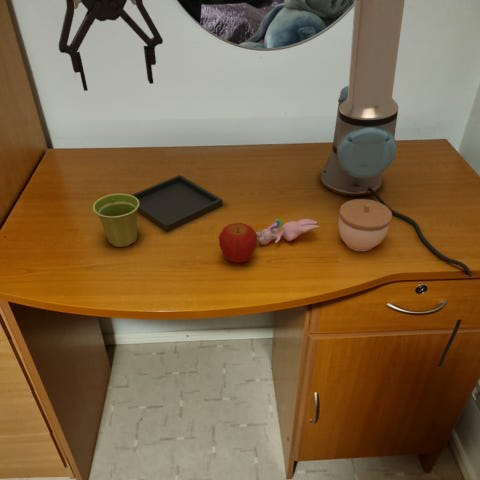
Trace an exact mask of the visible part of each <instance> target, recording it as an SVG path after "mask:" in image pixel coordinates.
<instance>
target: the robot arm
mask: <svg viewBox="0 0 480 480" xmlns="http://www.w3.org/2000/svg"><path fill="white" fill-rule="evenodd" d="M127 1H128V0H65V2H66V3H65V5H66V9H65V14H64V18H63V22H62V26H61V27H62V28H61V31H60V35H59V36H60V37H59V42H58V50H59V52H60V53H61V54H67V55H69V56H70V61H71V65H72V69H73V72H74V73H75V74H76V73H79V74H80V79H81V84H82V88H83V91H84V92H86V91H89V90H88V84H87V79H86V74H85V72H84V71H85V69H84V66H83V65H84V64H83V61H82V56H81V52H80V51H79V49H80V47H81V45H82V43H83V41H84V39H85V38H86V36H87V33H88V32H89V31H90V28H91V26H93V24H94V22H95V20H96V21H99V22H105V21H117V20H118V19H119V18H120V19H122V20H123V21H124V23H126V24H127V25H128V26H129V28H131V30H132V31H133V32H134V33H135V34H136V35H137V36H138V38H140V39H141V40H142V41H143V42H144V43H145V45H143V53H144V61H145V69H146V75H147V76H146V78H147V81H148V84H150V85H152V84H154V76H153V68H152V66H155V65H157V57H156V47H157V46H159V45H162V44H163V43H164V39H163V37H162V36H161V34H160V32H159V30H158V29H157V26H156V25H155V23H154V21H153V19H152V17H151V16H150V14H149V12H148V11H147V9H146V7H145V5H144V2H143V0H129V1H130V3H131V4H132V5H133V6H136V8H137V10H138V11H139V13H140V15H141V17H142V20H144V22H145V24H146V26H147V27H148V29H149V31H150V33H151V35H152V37H149V35H148V34H147V33H146V32H145V31H144V29H142V28H141V27H140V25H139V24H137V21H135V20H134V19H133V18H132V17H131V15H130V14H128V13H127V11H126V10H125V6H126V4H127ZM405 1H406V0H354V4H353V17H352V18H353V19H352V34H351V44H350V45H351V47H350V59H349V61H350V62H349V73H348V74H349V75H348V76H349V77H348V85H347V86H343V88H342V89H341V90H340V94H339V97H338V99H337V102H338V105H337V112H336V119H335V126H334V133H333V139H332V146H331V152H330V153H329V155H328V157H327V159H326V162H325V163H324V166H323V167H322V170H321V175H320V183H321V184H322V186H323V187H324V188H326V190H328V191H330V192H332V193H334V194H337V195H340V196H345V197H355V198H356V197H365V196H370V195H372V196H373V197H374V198H375V199H376V200H377V202H379V203H382V204H383V205H385V206H387V207H388V208H389V209H390V211H391V213H392V216H393V215H394V216H396V217H397V218H400V219H403V220H404V221H407V222H408V223H410V224H411V225H412V226H413V227H414V228H415V230H416V232H417V235H418V237H419V238H420V240H421V241H422V242H423V243H424V246H426V247H427V248H428V249H429V250H430V251H431V252H432V253H433V254H435V255H436V256H437V257H438V258H440V259H441V260H443V261H445V262H447V263H450V264H453V265H456V266H458V267H461V269H463V270H464V271H465V273H466V275H467V276H468V277H473V274H472V271H471V269H470V268H469V267H468V266H467V265H466V264H465V263H464V262H462V261H459V260H456V259H453V258H451V257H447V256H446V255H444V254H443V253H441V252H440V251H439V250H437V249H436V248H435V247H434V246H433V245H432V244H431V243H430V242H429V241H428V240H427V239H426V237H425V236H424V235H423V231H421V228H420V226H419V225H418V223H417V222H416V221H415V220H414V219H413V218H411V217H410V216H407V215H404V214H402V213H400V212H397V211H396V210H393V209H392V208H391V207H389V206H388V205H387V204H386V202H385V201H384V200H383V199H382V197H380V195H378V193H377V192H378V191H379V190H380V188H381V187H382V182H383V173H384V172H385V171H387V170H388V169H389V168H390V167H391V166H392V164H393V162H394V160H395V158H396V154H397V141H396V139H395V138H396V128H397V122H398V115H399V114H398V113H399V104H398V103H397V102H396V101H395V99H394V98H393V91H394V86H395V78H396V70H397V63H398V54H399V49H400V48H399V46H400V40H401V39H400V38H401V32H402V31H401V30H402V24H403V17H404V10H405V9H404V8H405ZM79 4H82V5H83V6H84V8H85V9H86V10H87V11H86V13H85V14H84V17H83V20H82V21H81V23H80V25H79V27H78V29H77V31H76V33H75V35H74V36H73V38H72V40H71V42H70V44H68V43H69V38H70V33H71V29H72V25H73V20H74V16H75V10H77V9H78V8H79ZM462 321H463V319H460V318H459V319H457V321H456V323H455V325H454V328H453V330H452V333H451V335H450V337H449V339H448V341H447V344H446V345H445V347H444V350H443V352H442V354H441V357H440V359H439V361H438V364H437V368H442V366H443V363H444V361H445V358H446V356H447V354H448V352H449V350H450V348H451V346H452V343H453V342H454V339H455V337H456V335H457V334H458V331H459V328H460V326H461V323H462Z"/></svg>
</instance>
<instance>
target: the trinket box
mask: <svg viewBox="0 0 480 480" xmlns="http://www.w3.org/2000/svg"><path fill="white" fill-rule="evenodd" d="M387 206H388V205H387ZM387 206H385V205H383V204H382V203H380V202H379V201H378V200H377V201H376V200H374V199H368V198H356V199H351V200H348V201H345V202H344V203H343V204H342V205H341V206H340V207H339V211H338V213H339V214H338V223H337V224H338V227H337V228H338V233H339V236H340V238H341V240H342V241H343V242H344V244H345V246H346V247H347V248H348V249H351V250H353V251H356V252H367V251H370V250H372V249H373V248H375V247H377V246H379V244H381V243H382V241H383V240H384V239H385V237H386V236H387V234H388V231H389V228H390V225H391V223H392V221H393V214H392V213H391V211H390V209H389V208H390V207H389V206H388V207H389V208H388V207H387Z"/></svg>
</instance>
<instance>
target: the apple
mask: <svg viewBox="0 0 480 480" xmlns="http://www.w3.org/2000/svg"><path fill="white" fill-rule="evenodd" d="M255 232H256V231H255V230H254V228H253V227H252V226H250V225H248V224H246V223H242V222H233V223H230V224H228V225H226V226H224V227H223V228H222V230H221V231H220V233H219V235H218V242H219V243H218V244H219V248H220V250H221V253H222V254H223V255H224V257H225V258H226V259H227V260H228V261H230V262H233V263H240V264H241V263H244V262H247V261H249V260H250V259H251V257H252V256H253V254H254V253H255V251H256V248H257V245H258V241H257V235H256V233H255Z"/></svg>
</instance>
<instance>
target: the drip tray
mask: <svg viewBox="0 0 480 480" xmlns="http://www.w3.org/2000/svg"><path fill="white" fill-rule="evenodd" d="M131 195H132V196H134V197H136V198H137V199H138V200H139V207H138V211H137V213H139V214H140V215H142V216H143V217H144V218H146V219H147V220H149V221H150V222H151V223H153V224H154V225H156V226H157V227H159V228H160V229H161V230H163V231H164V232H166V233H169V232H171V231H173V230H175V229H177V228H180V227H181V226H183V225H185V224H188V223H190V222H191V221H194V220H196V219H198V218H200V217H202V216H204V215H206V214H208V213H210V212H213V211H215V210H217V209H219V208H221V207H223V204H224V202H223V199H222V198H220V197H219V196H217V195H215V194H214V193H212V192H210V191H208V190H207V189H206V188H203V187H202V186H200V185H198V184H197V183H194V182H193V181H191V180H190V179H187V178H186V177H185V176H183V175H181V174H178V175H176V176H173V177H171V178H168V179H166V180H163V181H161V182H159V183H156V184H154V185H152V186H149V187H147V188H144V189H142V190H140V191H137V192H135V193H132V194H131Z"/></svg>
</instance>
